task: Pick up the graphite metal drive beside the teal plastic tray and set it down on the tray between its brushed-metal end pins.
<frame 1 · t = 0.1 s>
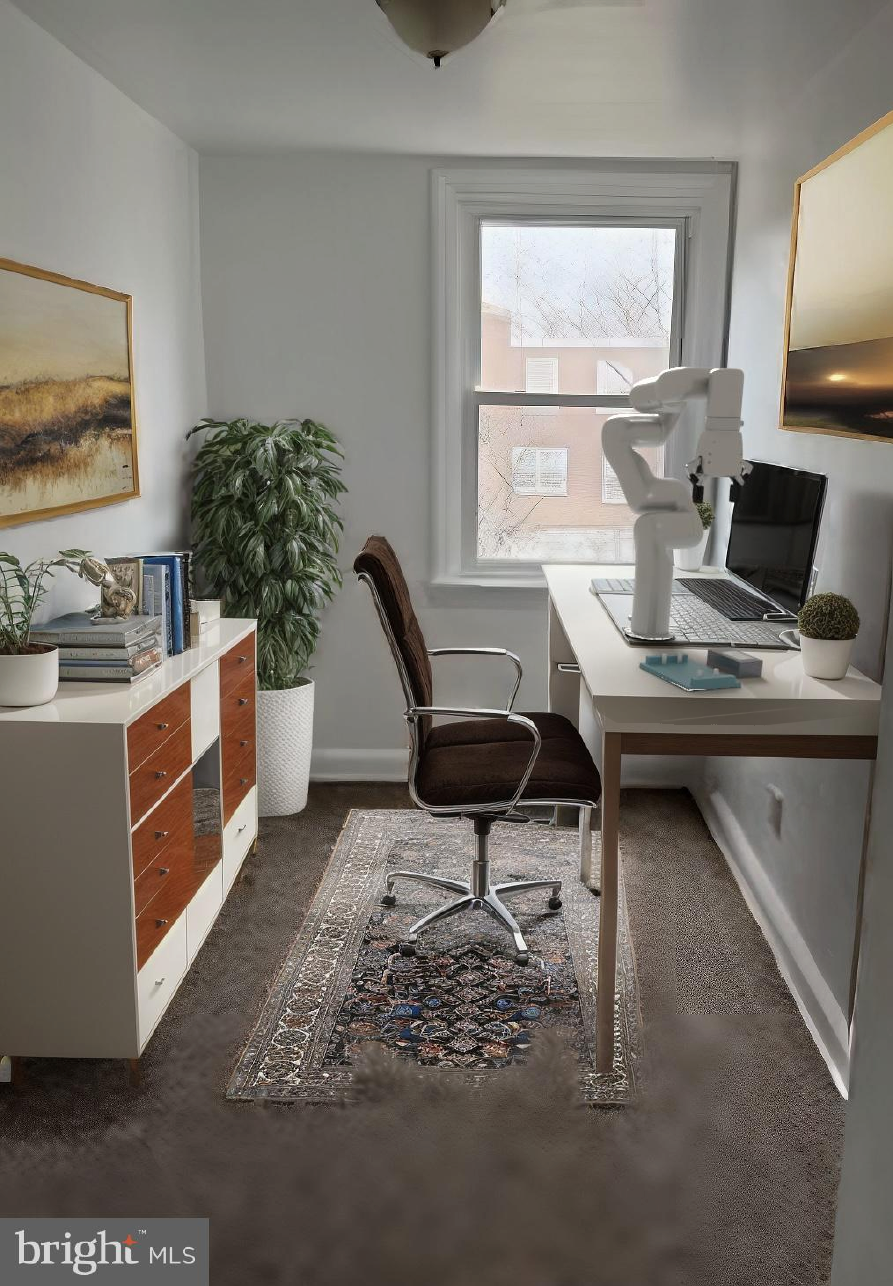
hand: (715, 502, 235), 36 cm above the table, tool pointing down, fingers open, 9 cm apart
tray: (688, 676, 228), on the table
drive: (733, 671, 234), on the table
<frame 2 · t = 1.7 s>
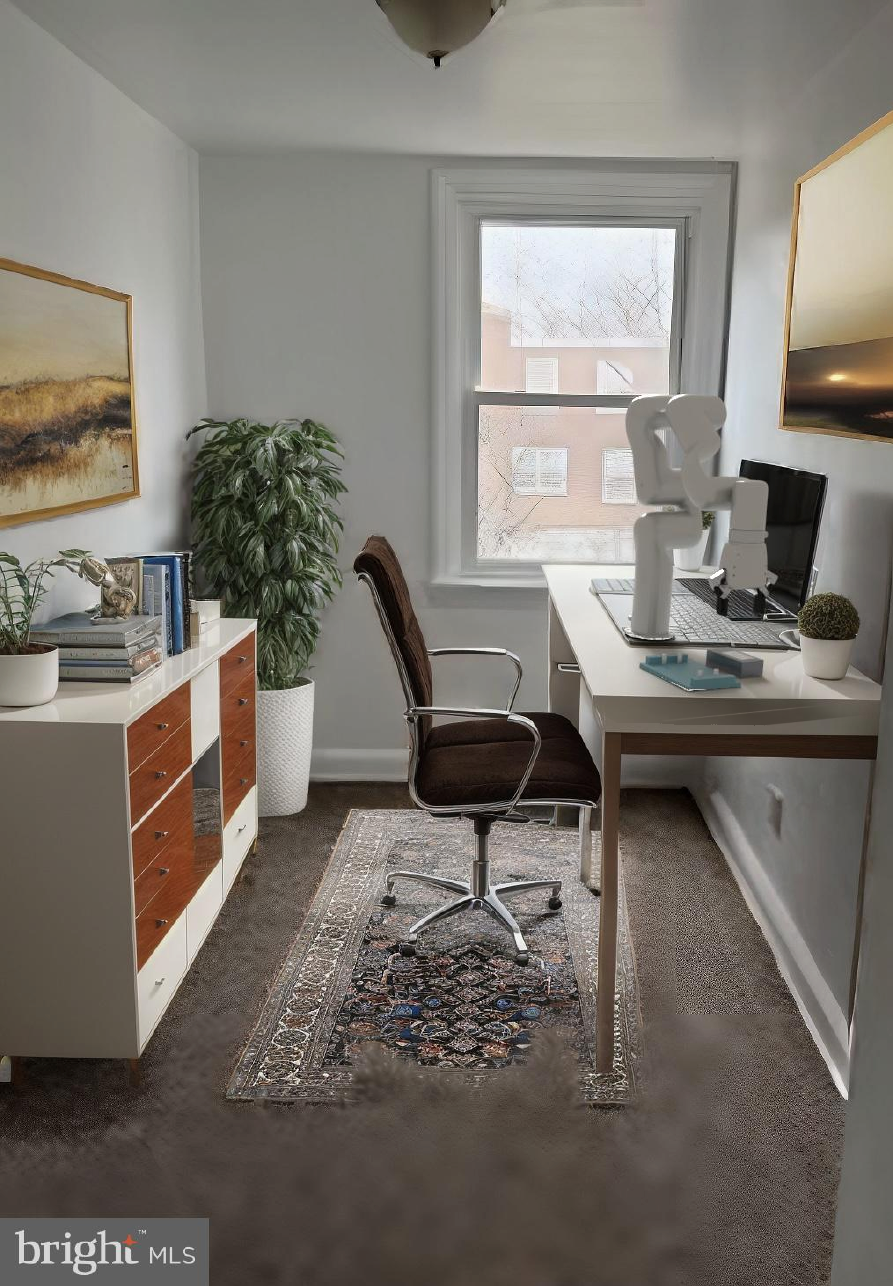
hand: (740, 614, 230), 13 cm above the table, tool pointing down, fingers open, 9 cm apart
nothing on the table moved.
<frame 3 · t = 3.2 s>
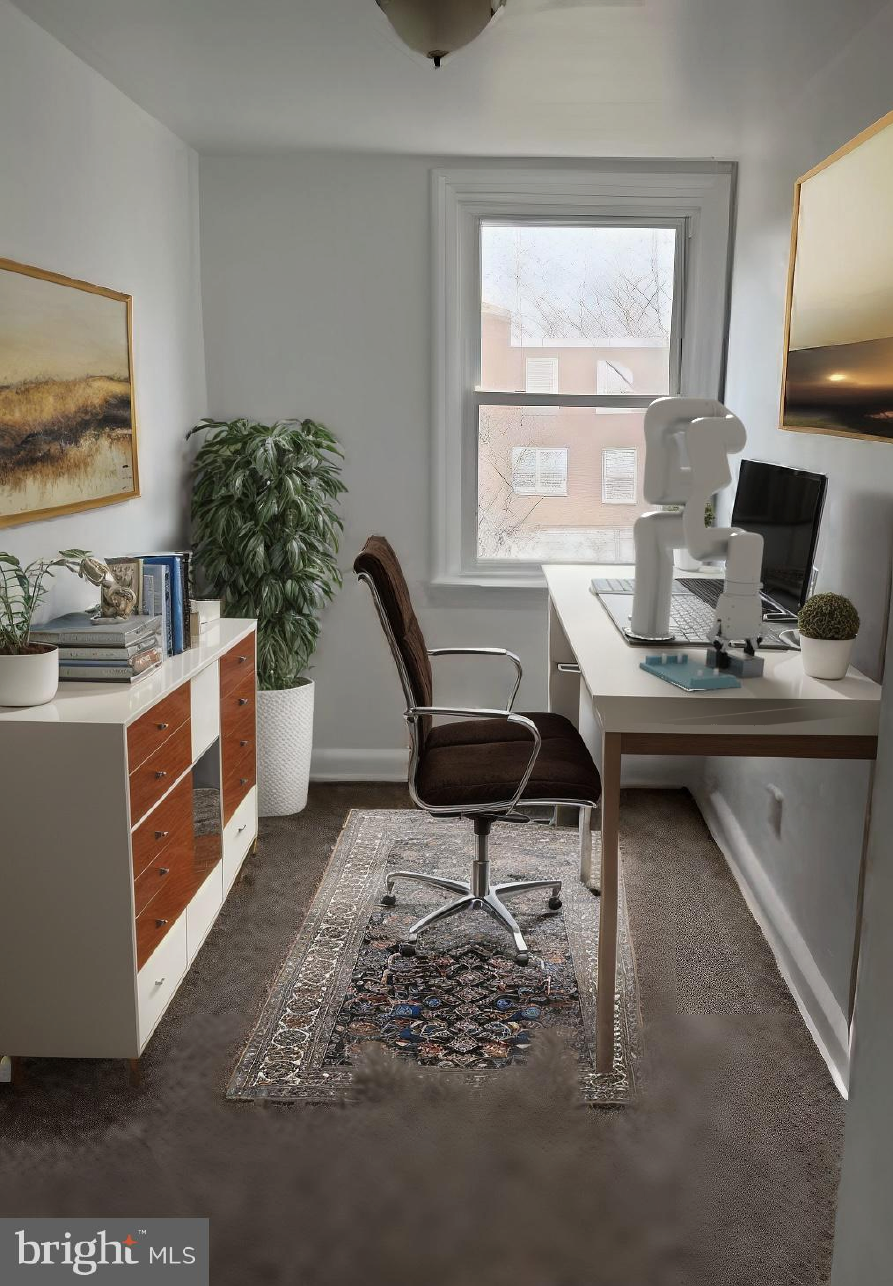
hand: (734, 666, 234), 1 cm above the table, tool pointing down, fingers closed on drive, 6 cm apart
drive: (733, 670, 234), on the table, touching gripper
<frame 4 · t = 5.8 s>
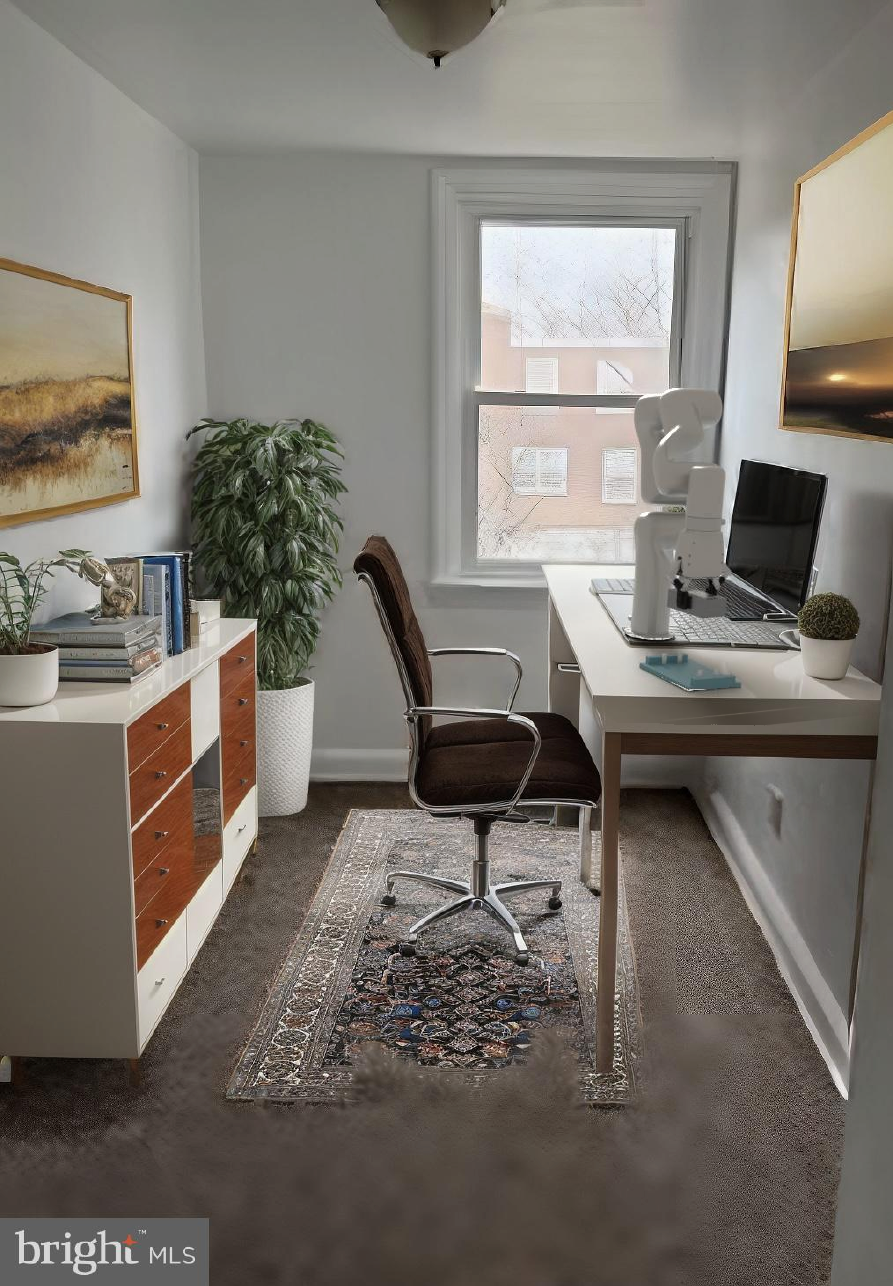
hand: (695, 606, 224), 16 cm above the table, tool pointing down, fingers closed on drive, 6 cm apart
drive: (695, 611, 225), point 15 cm above the table, touching gripper
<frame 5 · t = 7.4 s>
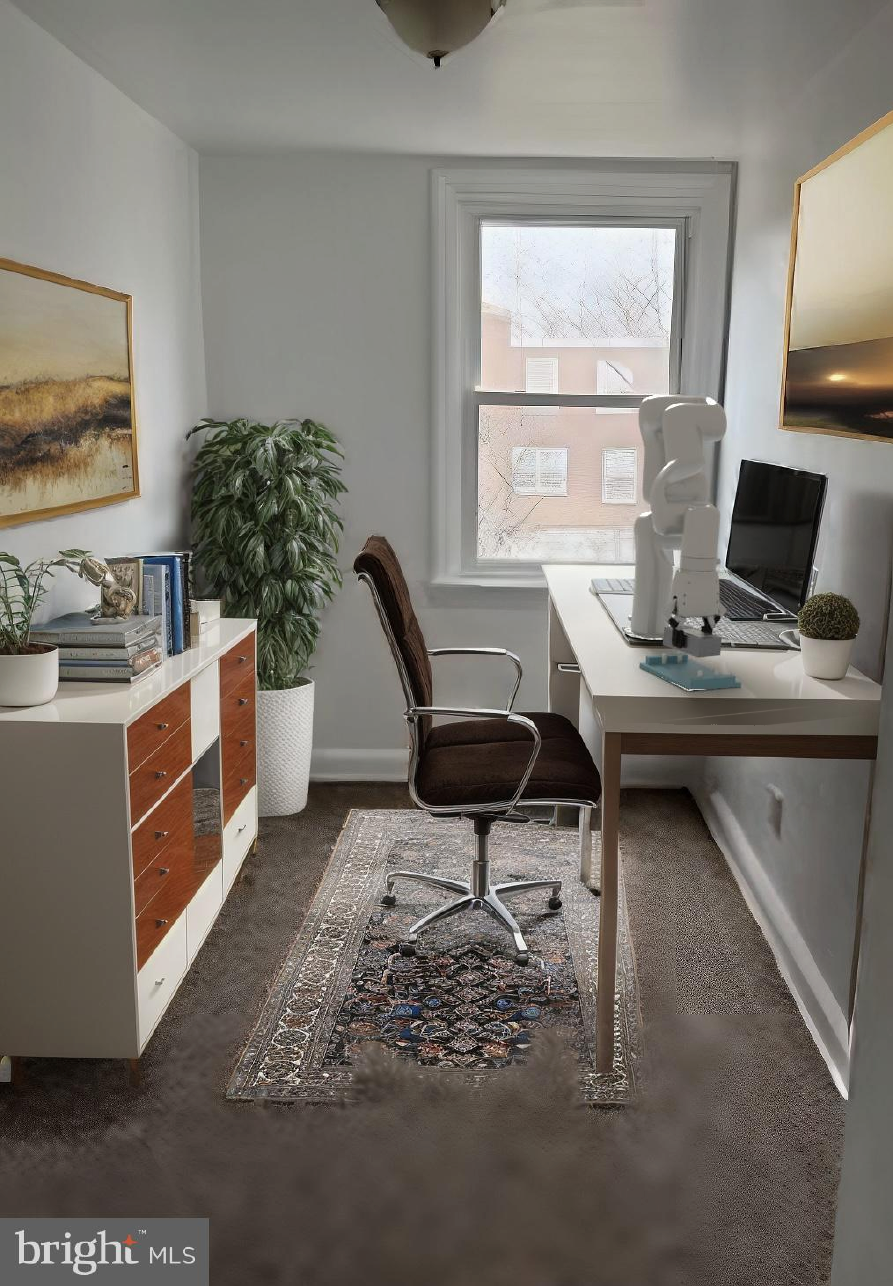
hand: (691, 645, 226), 7 cm above the table, tool pointing down, fingers closed on drive, 6 cm apart
drive: (691, 649, 226), point 6 cm above the table, touching gripper
when the fingers open (3 cm above the table, at t = 8.7 s): drive stays where it is, resting on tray.
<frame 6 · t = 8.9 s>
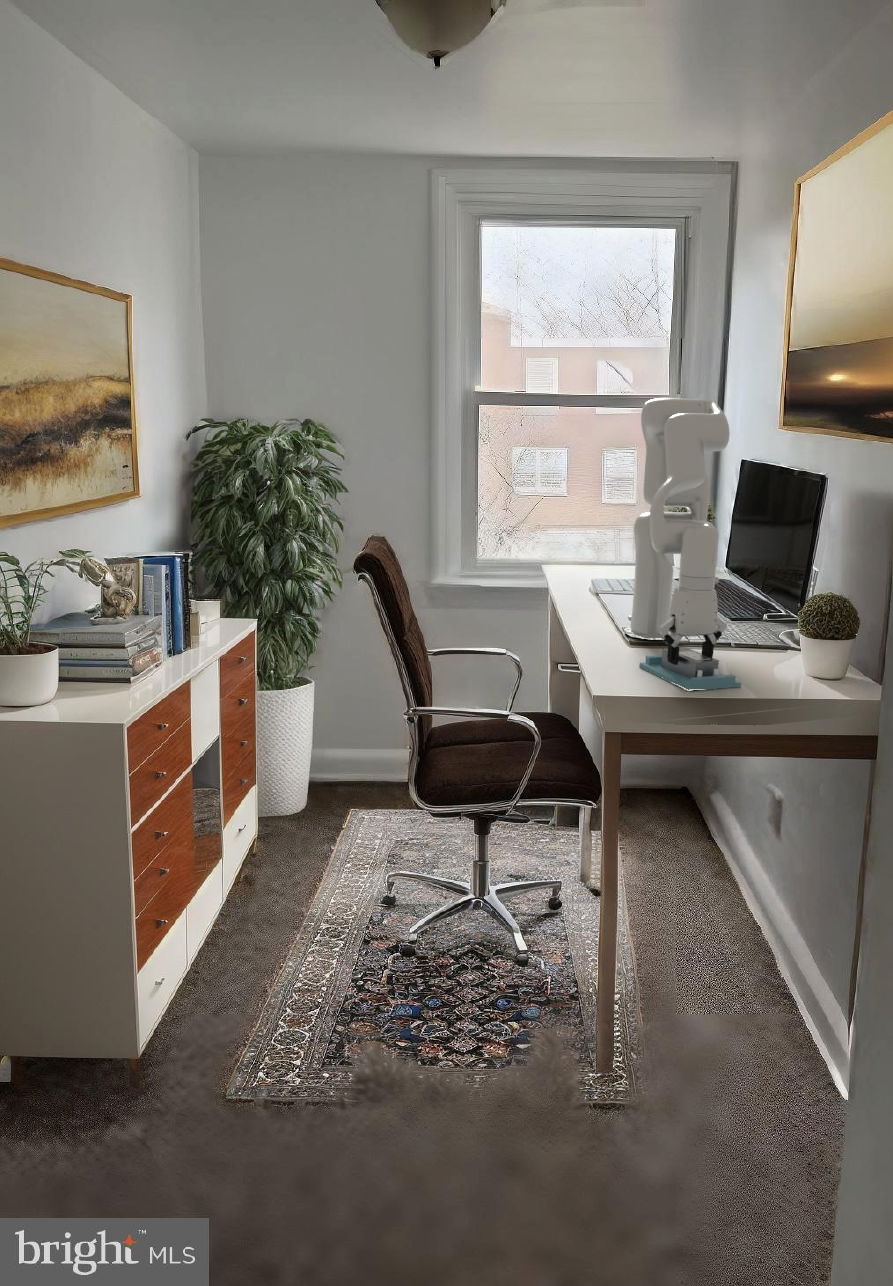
hand: (689, 661, 227), 3 cm above the table, tool pointing down, fingers open, 8 cm apart
drive: (688, 672, 228), point 1 cm above the table, touching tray
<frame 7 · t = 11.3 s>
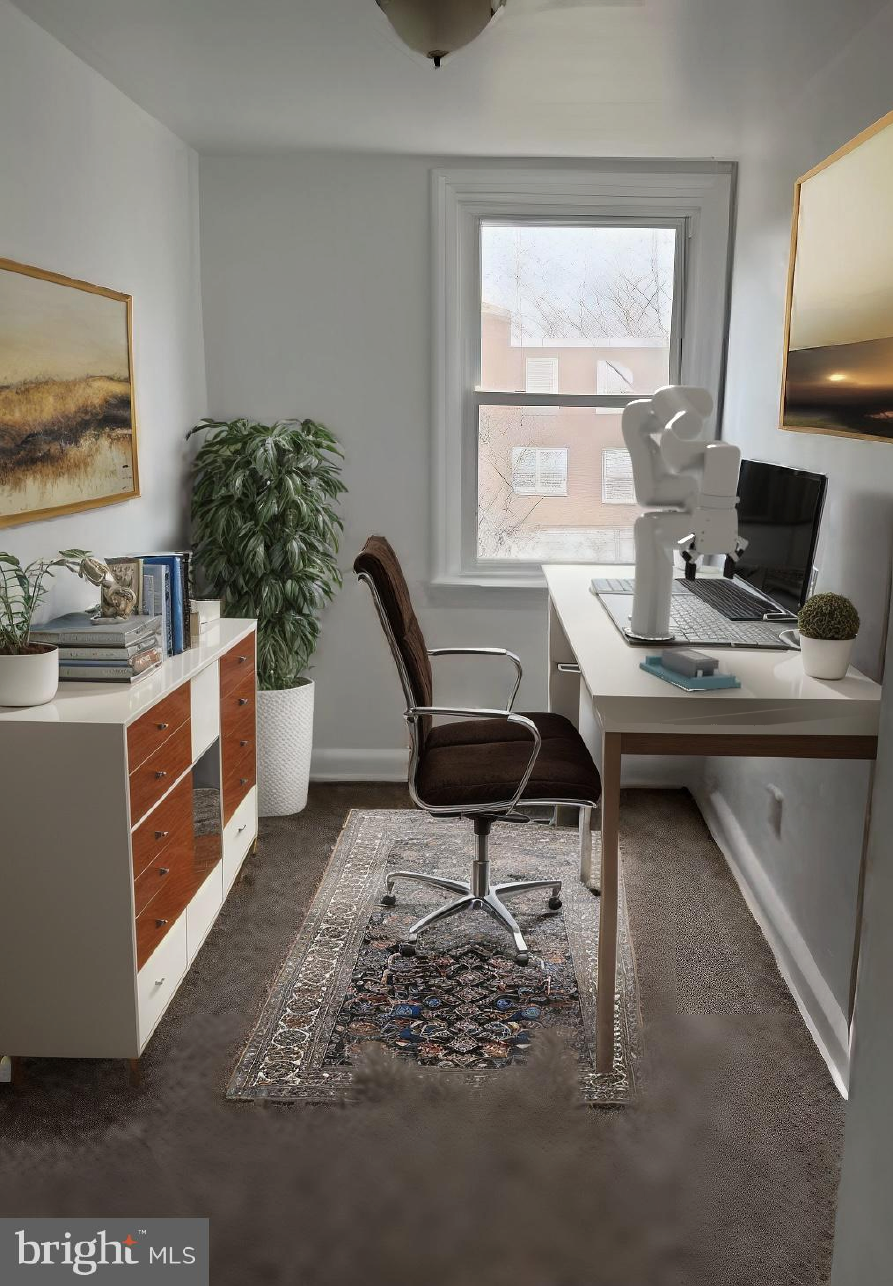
hand: (709, 579, 230), 20 cm above the table, tool pointing down, fingers open, 9 cm apart
nothing on the table moved.
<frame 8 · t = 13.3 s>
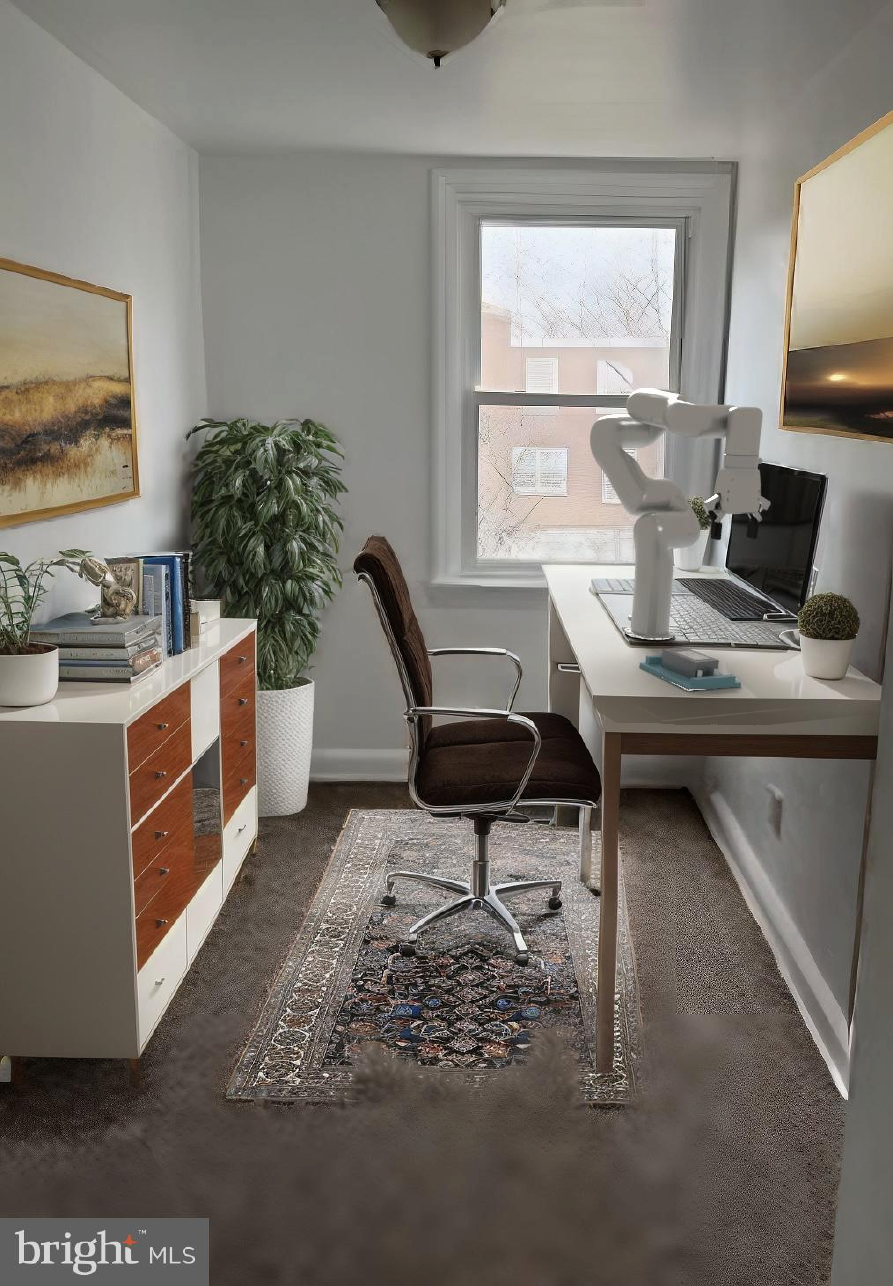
hand: (733, 538, 238), 28 cm above the table, tool pointing down, fingers open, 9 cm apart
nothing on the table moved.
at the end: drive 0.1 cm off-centre on the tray, point 1.0 cm above the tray's base; drive tilted 0°; the gripper is holding nothing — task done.
